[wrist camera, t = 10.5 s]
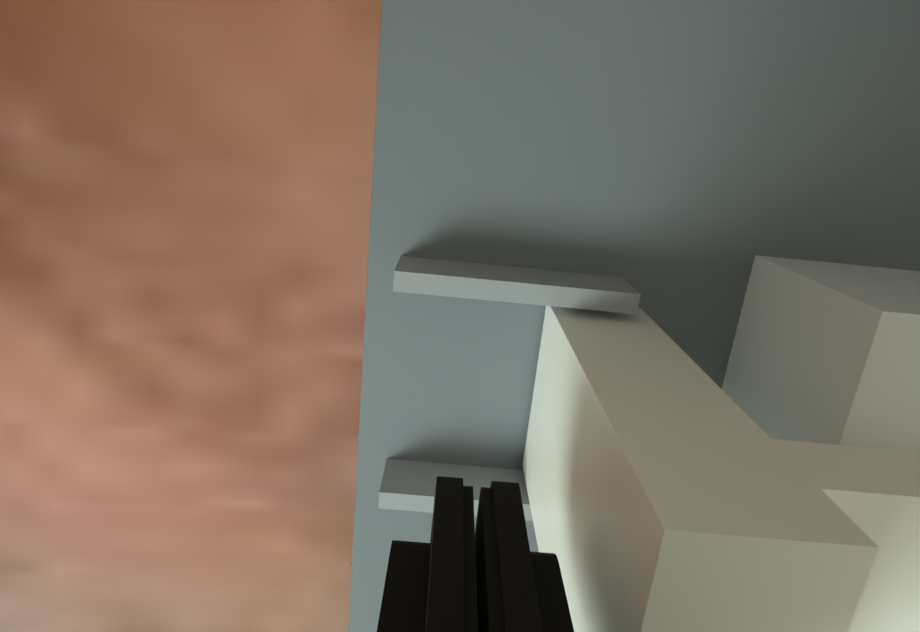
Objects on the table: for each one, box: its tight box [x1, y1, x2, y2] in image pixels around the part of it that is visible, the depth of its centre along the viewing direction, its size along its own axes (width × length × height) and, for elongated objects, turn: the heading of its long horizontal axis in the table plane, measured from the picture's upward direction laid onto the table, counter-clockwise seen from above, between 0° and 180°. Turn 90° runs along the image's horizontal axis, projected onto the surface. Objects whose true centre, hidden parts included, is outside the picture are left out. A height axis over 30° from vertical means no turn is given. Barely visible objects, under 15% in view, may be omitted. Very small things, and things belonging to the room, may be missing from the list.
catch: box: [522, 306, 920, 632], centre depth 15 cm, size 6×6×11 cm
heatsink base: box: [348, 0, 920, 632], centre depth 17 cm, size 31×26×10 cm
